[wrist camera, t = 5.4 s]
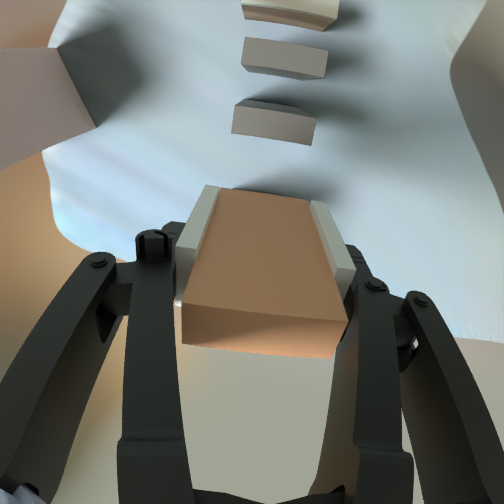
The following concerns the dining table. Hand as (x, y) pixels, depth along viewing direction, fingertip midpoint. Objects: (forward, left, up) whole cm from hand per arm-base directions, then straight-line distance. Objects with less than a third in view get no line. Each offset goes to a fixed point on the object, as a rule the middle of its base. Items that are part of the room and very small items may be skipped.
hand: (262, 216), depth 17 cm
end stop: (-15, 0, -14) cm, 20 cm away
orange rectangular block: (0, 0, -1) cm, 1 cm away
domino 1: (-9, 0, -14) cm, 16 cm away
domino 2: (-5, 0, -14) cm, 14 cm away
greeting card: (-6, -21, -14) cm, 26 cm away
